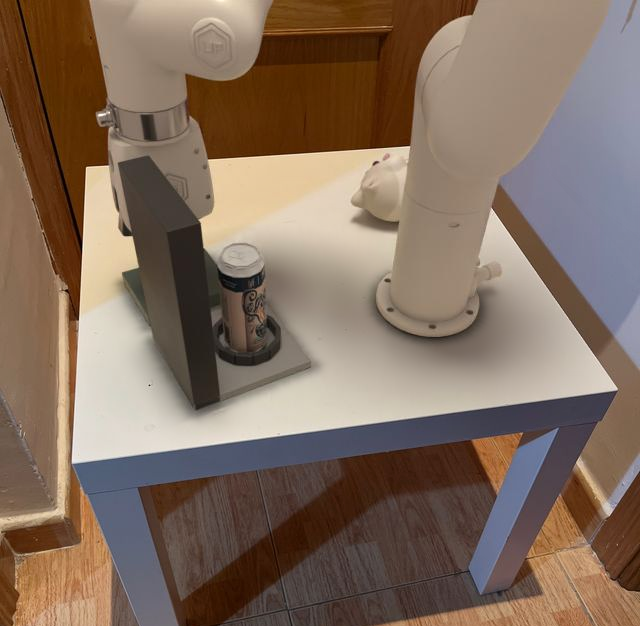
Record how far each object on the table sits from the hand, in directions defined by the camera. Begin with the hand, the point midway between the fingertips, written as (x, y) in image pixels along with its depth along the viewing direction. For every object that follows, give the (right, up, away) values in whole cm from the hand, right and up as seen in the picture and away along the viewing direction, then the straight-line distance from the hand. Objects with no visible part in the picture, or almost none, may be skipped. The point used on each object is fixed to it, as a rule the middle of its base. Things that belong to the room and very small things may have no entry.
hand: (173, 265), depth 82 cm
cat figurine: (+29, +11, +16) cm, 34 cm away
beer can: (+9, -10, -4) cm, 14 cm away
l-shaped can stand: (+7, -11, -4) cm, 14 cm away
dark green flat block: (0, -2, +3) cm, 4 cm away
